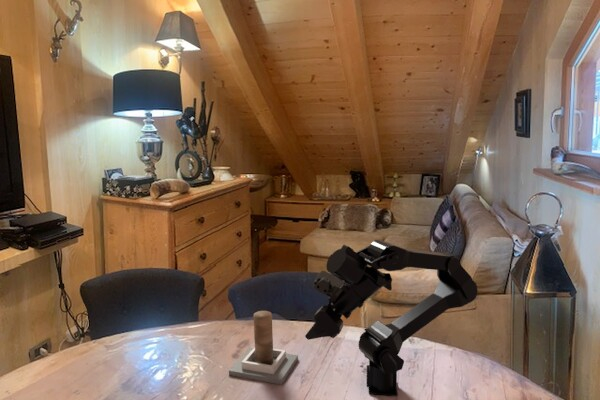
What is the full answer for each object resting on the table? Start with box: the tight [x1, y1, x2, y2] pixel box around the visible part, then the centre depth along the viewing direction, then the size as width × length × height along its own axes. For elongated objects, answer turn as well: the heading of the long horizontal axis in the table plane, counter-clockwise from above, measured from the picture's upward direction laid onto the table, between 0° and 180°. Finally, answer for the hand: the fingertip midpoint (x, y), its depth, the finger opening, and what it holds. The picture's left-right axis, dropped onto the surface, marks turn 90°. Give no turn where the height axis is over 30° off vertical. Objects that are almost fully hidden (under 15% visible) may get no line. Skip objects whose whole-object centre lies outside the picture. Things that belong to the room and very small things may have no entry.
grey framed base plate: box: [228, 346, 299, 385], centre depth 114 cm, size 14×12×3 cm
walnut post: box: [253, 310, 274, 365], centre depth 113 cm, size 5×5×13 cm
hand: (312, 328), depth 105 cm, fingers open, 9 cm apart
